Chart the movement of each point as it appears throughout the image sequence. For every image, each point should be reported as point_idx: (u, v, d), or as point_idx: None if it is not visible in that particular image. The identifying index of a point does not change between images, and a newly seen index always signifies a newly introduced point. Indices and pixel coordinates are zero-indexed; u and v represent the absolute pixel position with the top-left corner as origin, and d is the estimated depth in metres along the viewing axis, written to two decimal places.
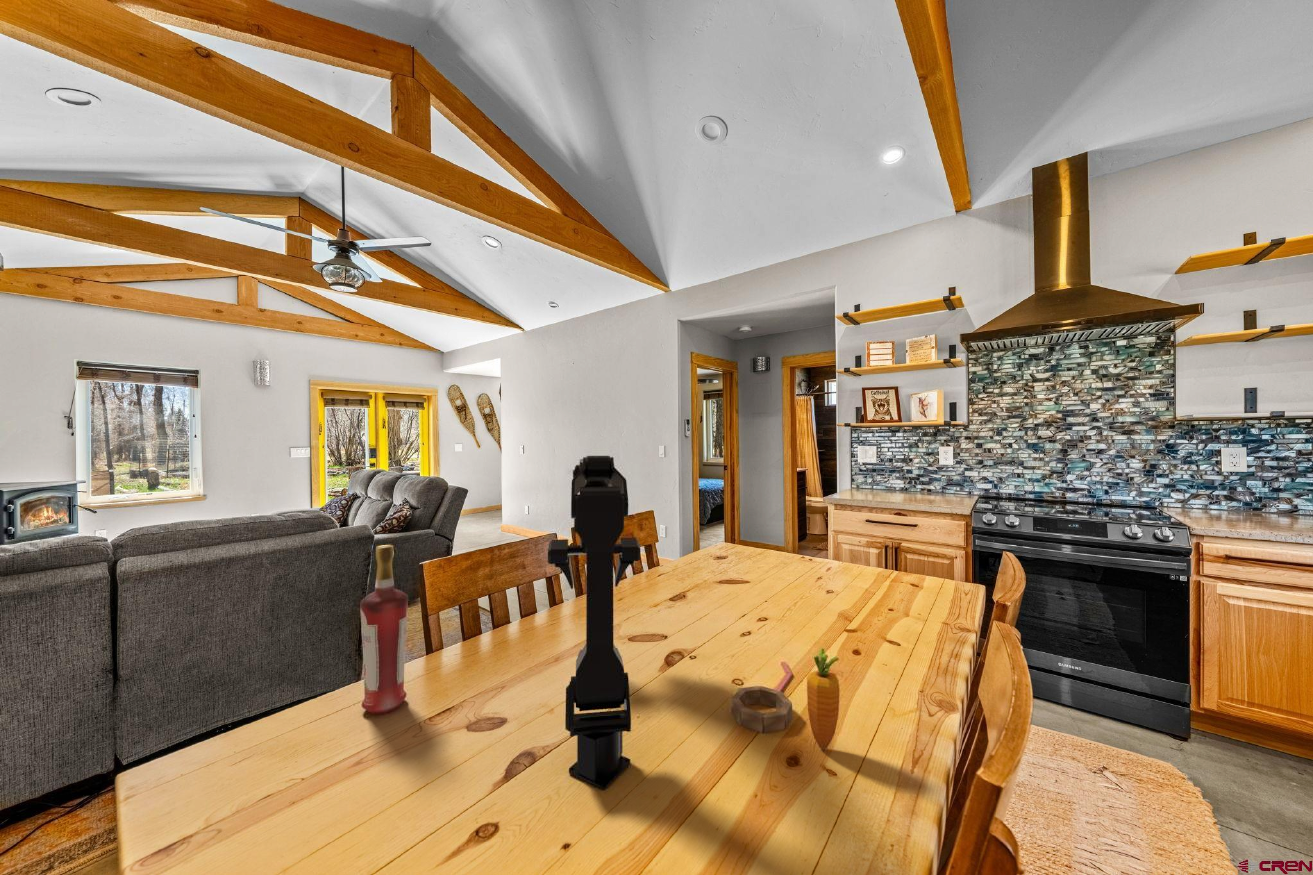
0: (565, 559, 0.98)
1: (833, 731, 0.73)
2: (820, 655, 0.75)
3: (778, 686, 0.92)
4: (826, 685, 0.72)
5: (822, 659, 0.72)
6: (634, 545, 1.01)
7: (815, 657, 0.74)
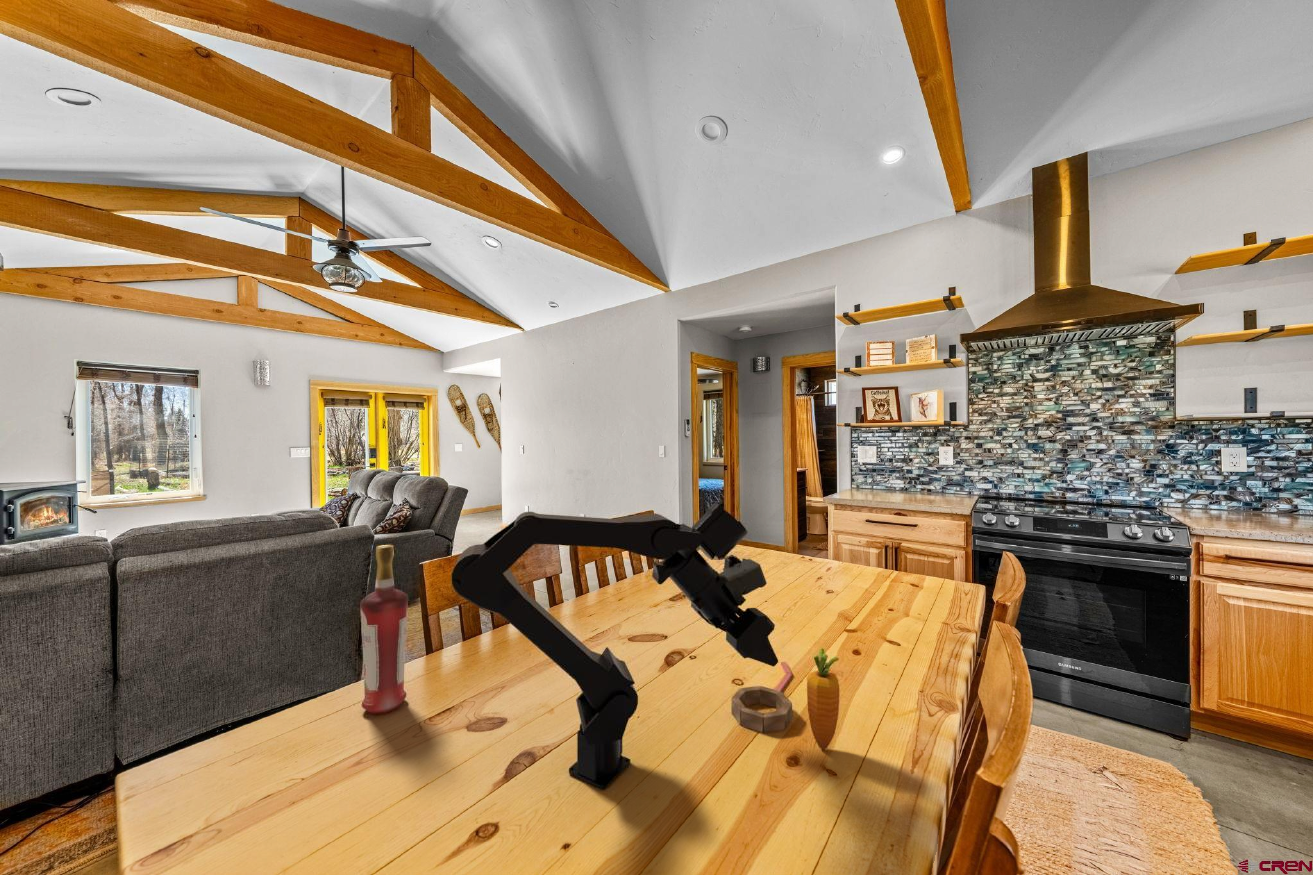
0: None
1: (833, 731, 0.73)
2: (820, 655, 0.75)
3: (778, 686, 0.92)
4: (826, 685, 0.72)
5: (822, 659, 0.72)
6: (737, 634, 0.67)
7: (815, 657, 0.74)
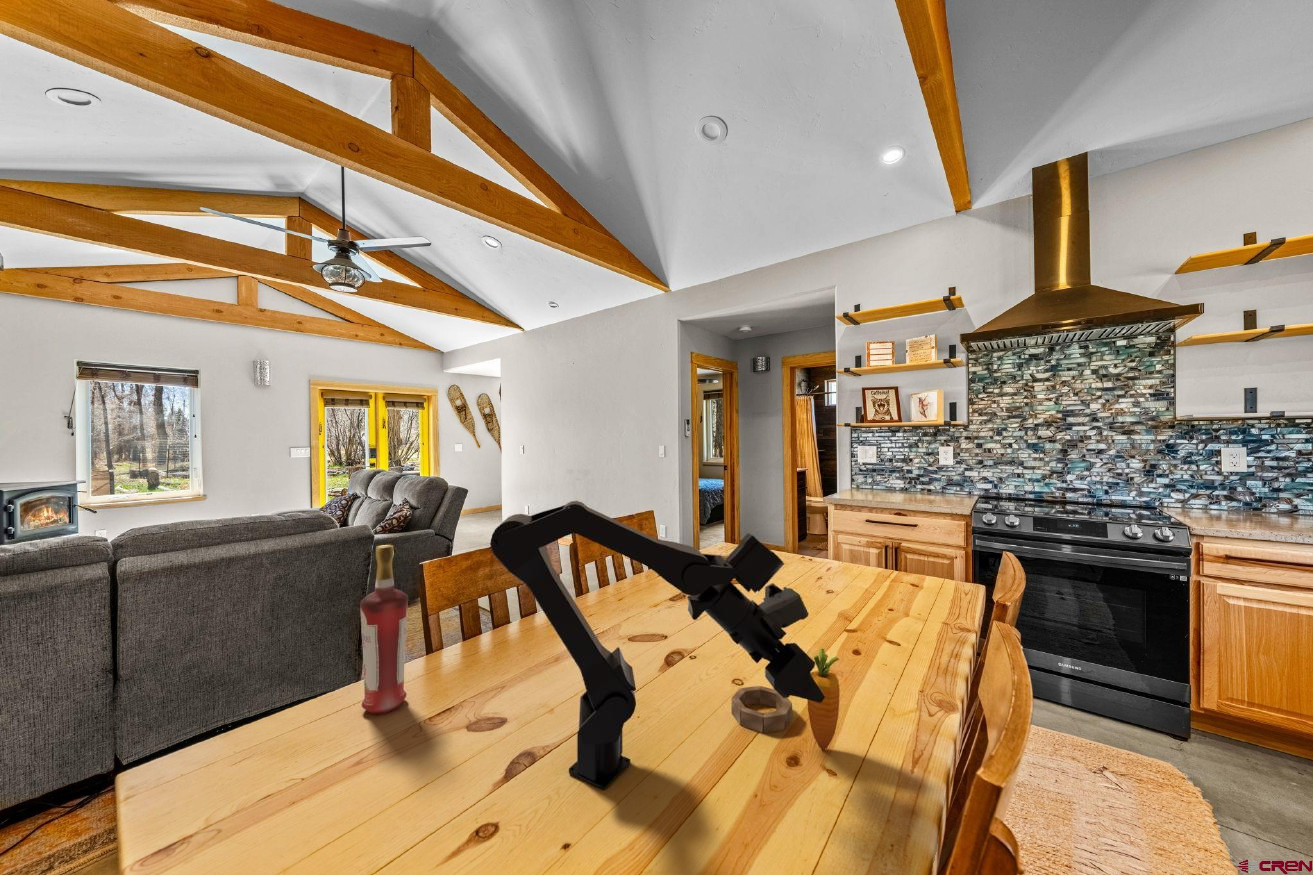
0: None
1: (833, 731, 0.73)
2: (820, 655, 0.75)
3: None
4: (826, 685, 0.72)
5: (822, 659, 0.72)
6: (775, 672, 0.64)
7: (815, 657, 0.74)
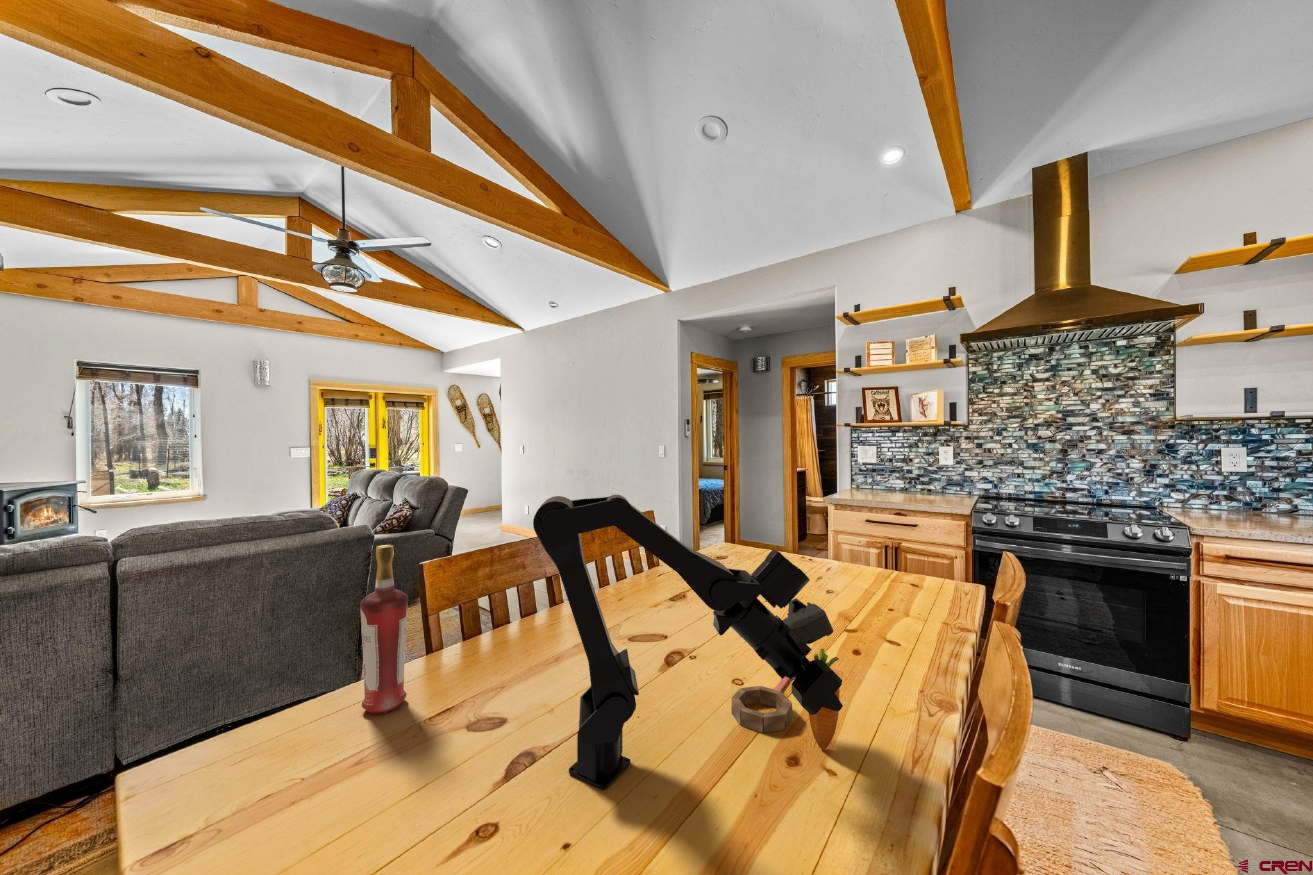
0: None
1: (833, 731, 0.73)
2: (820, 655, 0.75)
3: (778, 686, 0.92)
4: None
5: (822, 659, 0.72)
6: (803, 689, 0.65)
7: (815, 657, 0.74)
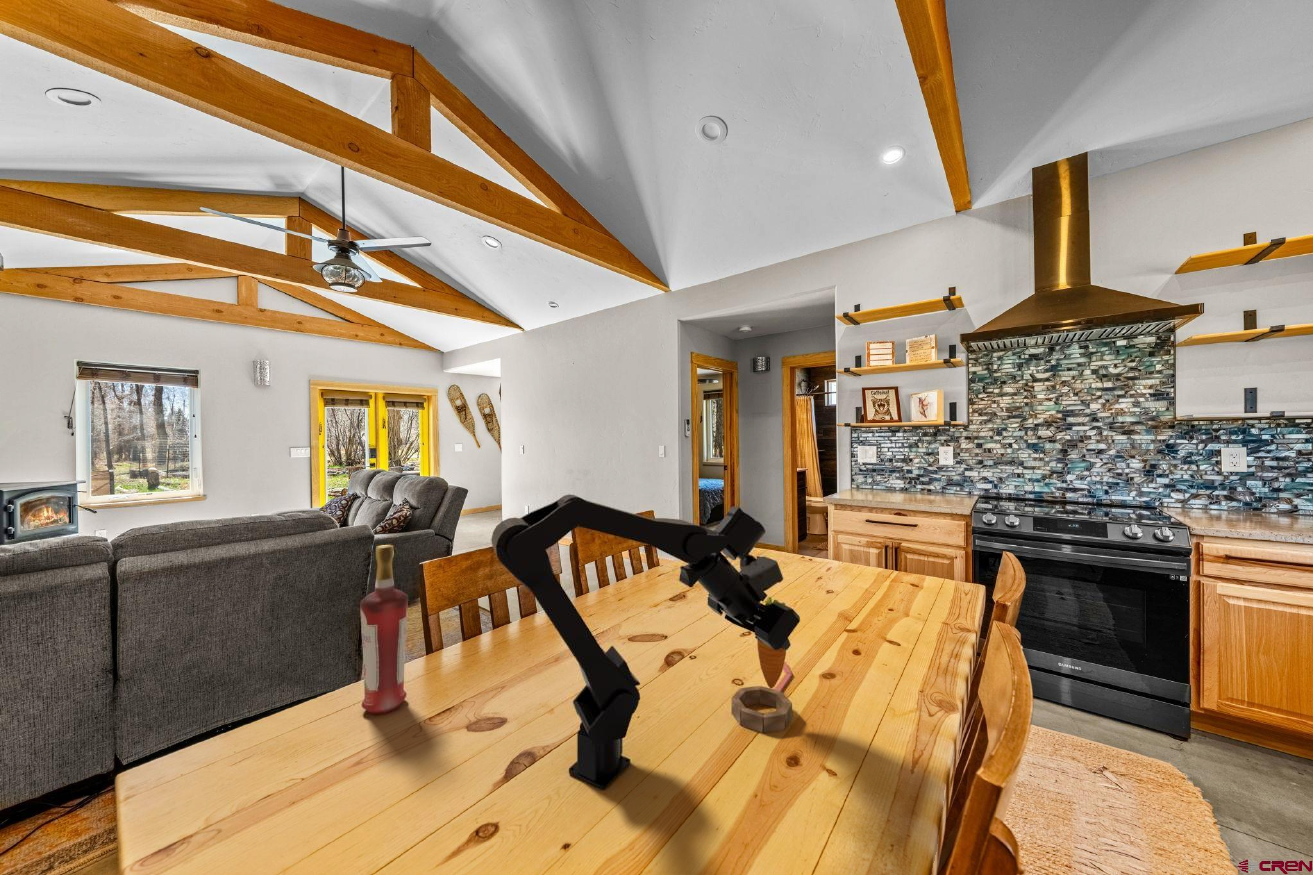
0: (719, 613, 0.84)
1: (781, 669, 0.80)
2: (768, 603, 0.83)
3: (778, 686, 0.92)
4: None
5: None
6: (768, 628, 0.71)
7: (766, 604, 0.81)
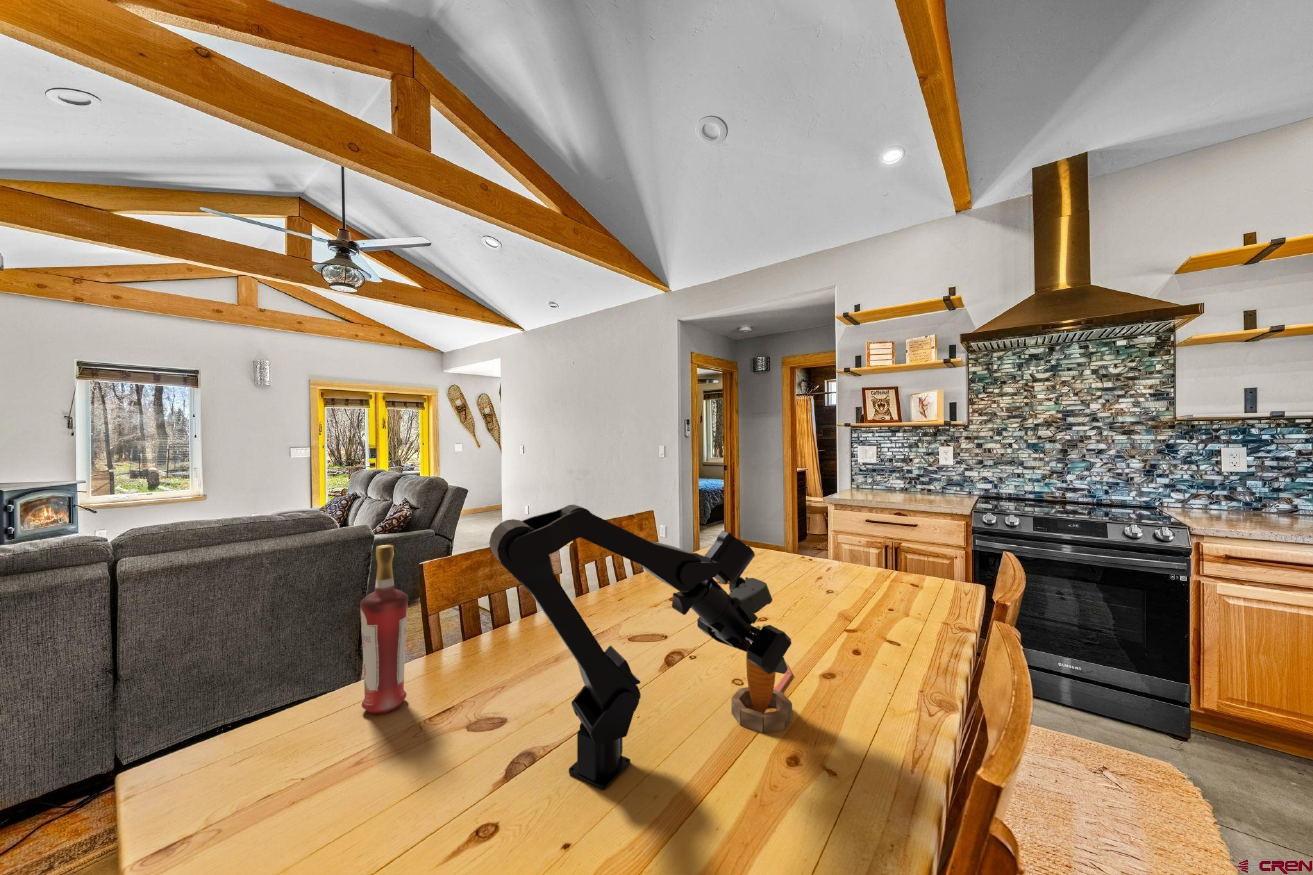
0: (709, 635, 0.85)
1: (770, 697, 0.82)
2: None
3: (778, 686, 0.92)
4: None
5: None
6: (761, 652, 0.73)
7: None
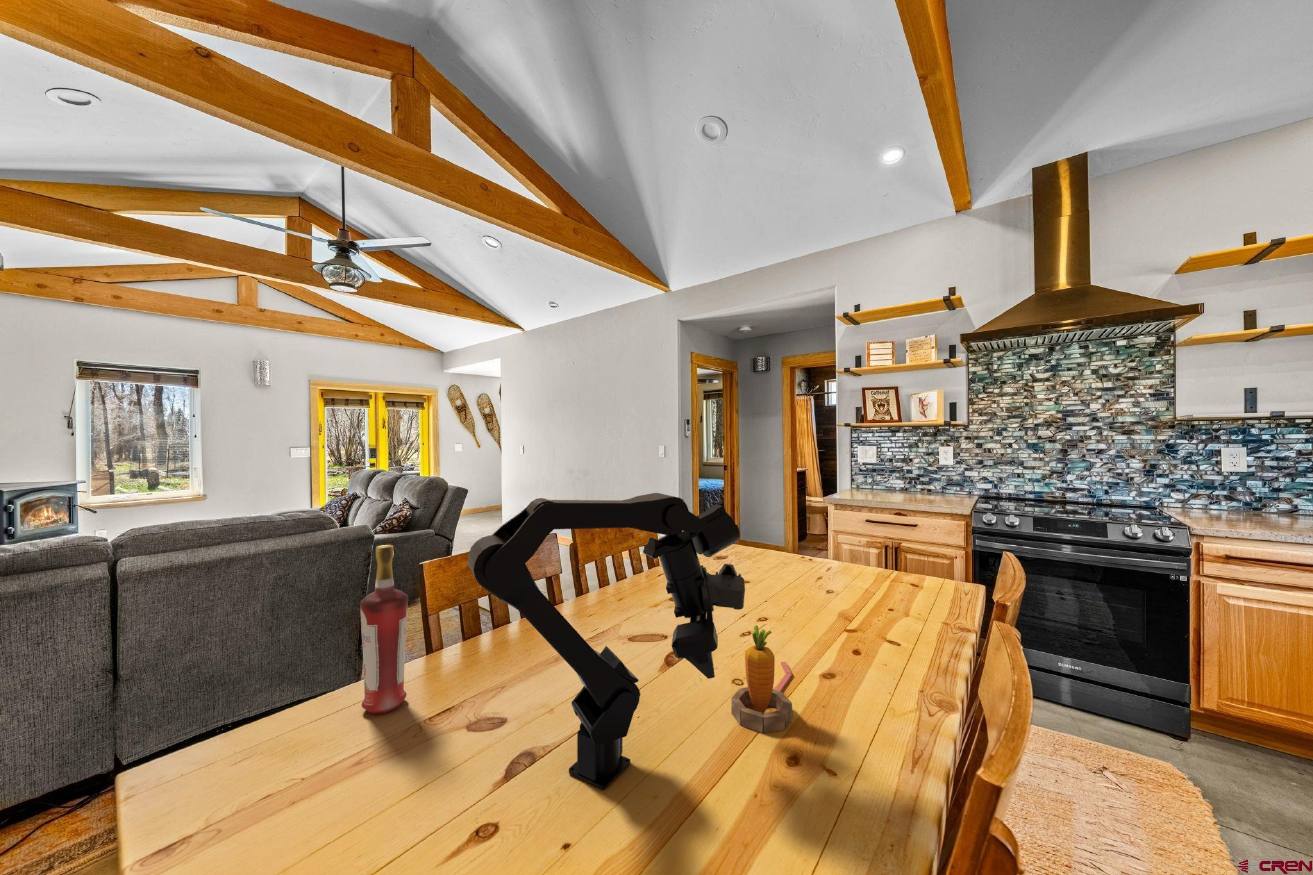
0: None
1: (770, 696, 0.82)
2: (755, 631, 0.84)
3: (778, 686, 0.92)
4: (765, 656, 0.81)
5: (761, 634, 0.82)
6: (680, 634, 0.69)
7: (753, 633, 0.82)
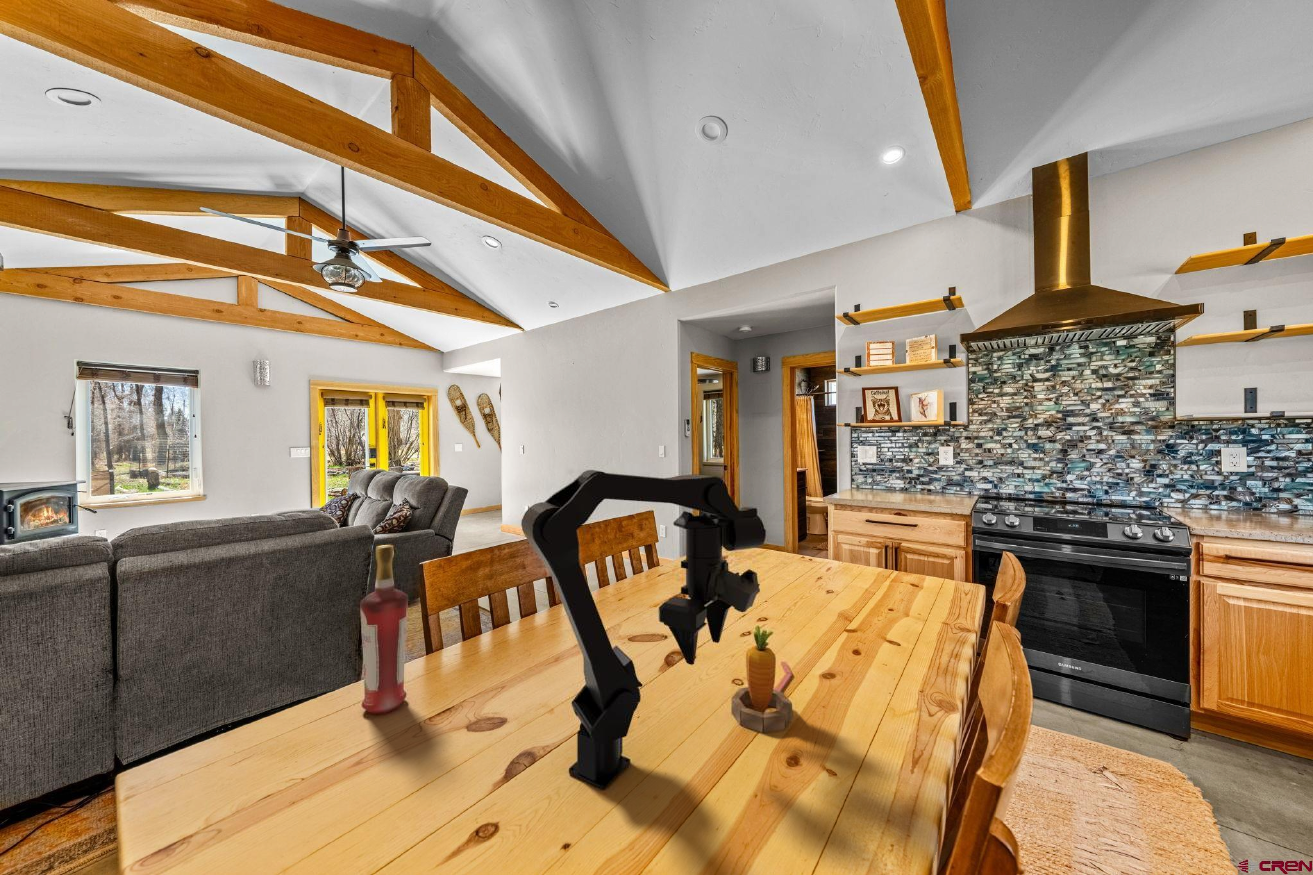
0: None
1: (770, 697, 0.82)
2: (757, 632, 0.84)
3: (778, 686, 0.92)
4: (766, 657, 0.81)
5: (762, 635, 0.81)
6: (670, 601, 0.71)
7: (755, 634, 0.82)
